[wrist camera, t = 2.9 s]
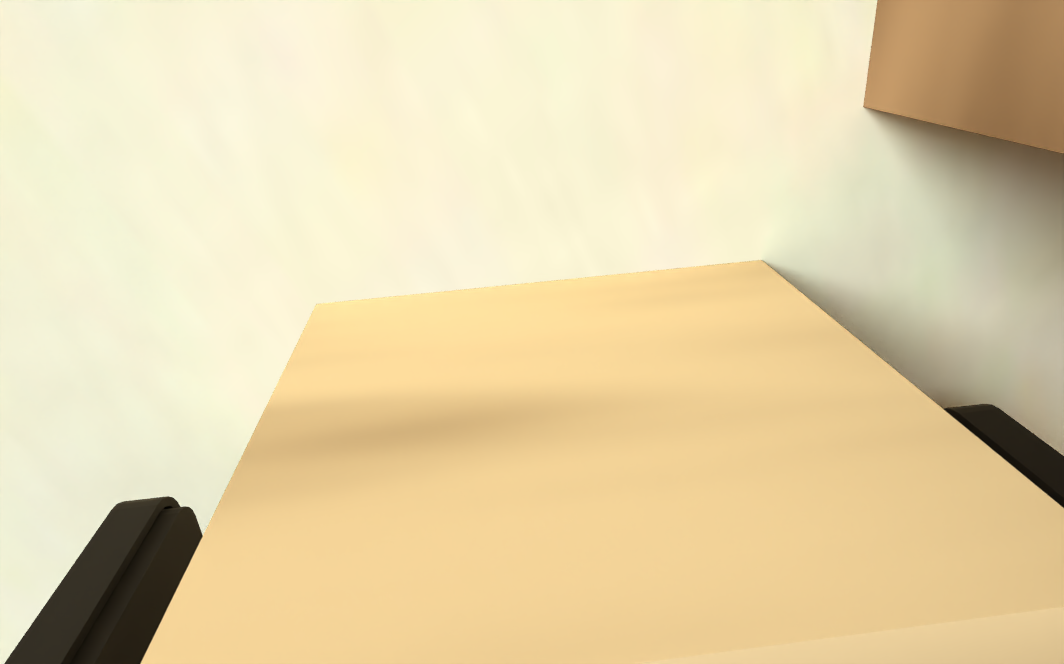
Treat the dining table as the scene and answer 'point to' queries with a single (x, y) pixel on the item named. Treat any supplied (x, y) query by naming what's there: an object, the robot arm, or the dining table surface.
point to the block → (614, 493)
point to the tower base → (972, 66)
